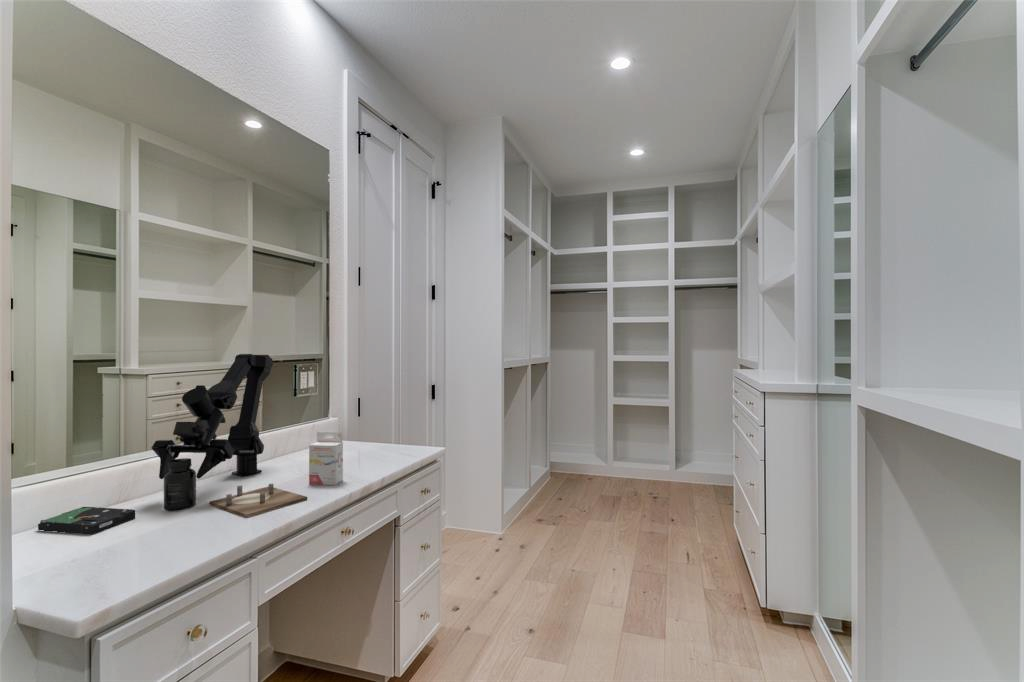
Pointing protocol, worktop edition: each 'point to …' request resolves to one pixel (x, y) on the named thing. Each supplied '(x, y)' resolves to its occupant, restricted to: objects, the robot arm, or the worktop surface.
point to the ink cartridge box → (326, 459)
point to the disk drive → (87, 520)
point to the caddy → (257, 501)
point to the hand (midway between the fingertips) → (179, 478)
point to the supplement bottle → (179, 485)
